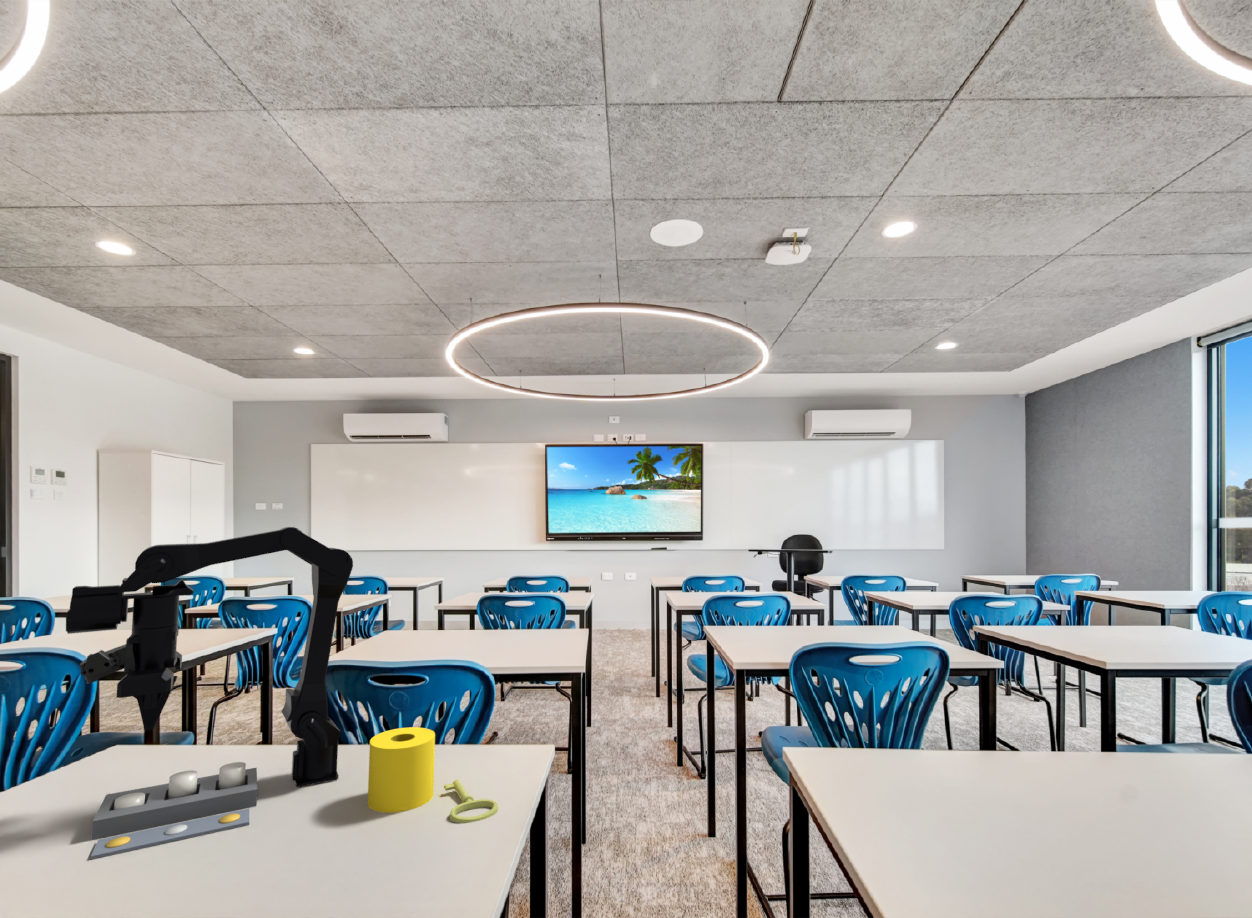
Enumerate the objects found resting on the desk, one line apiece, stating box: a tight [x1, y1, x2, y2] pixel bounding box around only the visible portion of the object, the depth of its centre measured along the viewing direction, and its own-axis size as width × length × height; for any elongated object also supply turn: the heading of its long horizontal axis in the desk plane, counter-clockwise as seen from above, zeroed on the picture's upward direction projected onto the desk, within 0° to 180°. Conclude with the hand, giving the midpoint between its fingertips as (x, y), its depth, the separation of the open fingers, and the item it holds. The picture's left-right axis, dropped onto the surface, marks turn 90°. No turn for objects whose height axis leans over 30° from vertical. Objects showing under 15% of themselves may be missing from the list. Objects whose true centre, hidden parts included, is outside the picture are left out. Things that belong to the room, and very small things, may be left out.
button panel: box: [90, 767, 258, 841], centre depth 97 cm, size 20×10×2 cm, turn 121°
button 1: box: [114, 793, 145, 810], centre depth 93 cm, size 4×4×3 cm
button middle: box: [168, 770, 199, 799], centre depth 97 cm, size 4×4×3 cm
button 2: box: [218, 761, 247, 790], centre depth 100 cm, size 4×4×3 cm
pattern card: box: [90, 808, 250, 860], centre depth 89 cm, size 18×5×1 cm, turn 121°
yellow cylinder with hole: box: [367, 726, 436, 814], centre depth 101 cm, size 10×10×9 cm
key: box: [443, 779, 499, 824], centre depth 97 cm, size 7×12×2 cm, turn 50°
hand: (149, 729), depth 95 cm, fingers closed
